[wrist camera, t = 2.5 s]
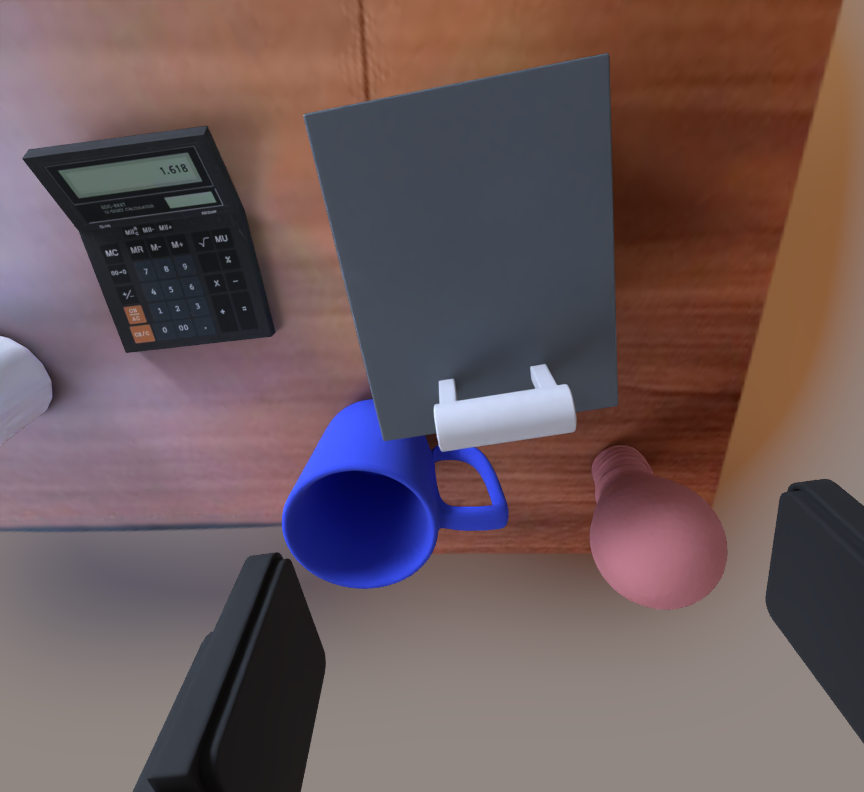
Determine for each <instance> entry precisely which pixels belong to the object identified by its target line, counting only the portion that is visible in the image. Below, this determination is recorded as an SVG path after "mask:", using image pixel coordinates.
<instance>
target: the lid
mask: <svg viewBox="0 0 864 792" xmlns="http://www.w3.org/2000/svg"><path fill="white" fill-rule="evenodd" d="M304 121H305V125H306V129H307V133H308V137H309V141H310V145H311V149H312V153H313V157H314V161H315V166H316V170H317V174H318V178H319V182H320V186H321V190H322V194H323V198H324V202H325V206H326V210H327V214H328V218H329V222H330V227H331V231H332V235H333V239H334V243H335V247H336V251H337V255H338V259H339V263H340V267H341V271H342V275H343V279H344V284H345V288H346V292H347V296H348V300H349V304H350V308H351V312H352V316H353V320H354V324H355V328H356V332H357V336H358V340H359V345H360V349H361V353H362V357H363V361H364V365H365V369H366V373H367V377H368V381H369V385H370V389H371V393H372V397H373V401H374V406H375V410H376V414H377V418H378V422H379V426H380V430H381V434H382V438H383V441H391V440H397V439H404V438H410V437H417V436H423V435H430V434H436V433H437V439H438V443H439V447H440V450H441V451H442V452H444V451H451V450H458V449H465V448H471V447H478V446H485V445H491V444H498V443H505V442H511V441H518V440H525V439H531V438H538V437H545V436H551V435H558V434H565V433H571V432H574V431H575V430H576V423H577V422H576V412H581V411H587V410H594V409H600V408H607V407H613V406H618V381H617V341H616V301H615V260H614V220H613V180H612V140H611V99H610V59H609V54H608V53H605V54H600V55H595V56H590V57H585V58H580V59H575V60H570V61H565V62H560V63H555V64H550V65H545V66H540V67H535V68H530V69H525V70H520V71H516V72H511V73H506V74H501V75H496V76H491V77H486V78H481V79H476V80H471V81H466V82H461V83H456V84H451V85H446V86H441V87H436V88H431V89H426V90H421V91H416V92H411V93H406V94H401V95H396V96H391V97H386V98H381V99H376V100H371V101H366V102H361V103H356V104H351V105H346V106H341V107H337V108H332V109H327V110H322V111H317V112H312V113H307V114H304Z"/></svg>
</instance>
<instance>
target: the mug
mask: <svg viewBox="0 0 864 792" xmlns="http://www.w3.org/2000/svg"><path fill="white" fill-rule="evenodd" d="M442 460H458V461H463V462H466V463H468V464H470V465H472V466H473V467H474V468H475V469H476V470H477V471H478V472H479V474H480V475H481V477H482V478H483V480H484V482H485V485H486V487H487V490H488V492H489V495H490V498H491V501H492V505H493V506H479V507H456V506H450V505H447V504H446V503H444V502H443V500H442V499H441V497H440V494H439V491H438V487H437V482H436V475H435V465H434V463H435V462H437V461H442ZM507 522H508V506H507V502H506V499H505V496H504V493H503V491H502V488H501V485H500V482H499V480H498V478H497V475H496V473H495V471H494V469H493V467H492V465H491V464H490V462H489V460H488V459H487V458H486V456H485V455H484V454H483V453H482V452H481V451H480V450H479V449H477V448H475V447H471V448H465V449H458V450H451V451H444V452H442V451H441V450H440V447H439V445H438V446H436V447H435V448H433V449H432V450H430V448H429V445H428V442H427V439H426V436H425V435H423V436H417V437H410V438H404V439H397V440H391V441H383V438H382V434H381V430H380V426H379V422H378V418H377V414H376V410H375V406H374V401H373V399H370V400H363V401H359V402H356V403H354V404H351V405H349V406H348V407H346V408H344V409H343V410H342V411H340V412H339V413H338V414H337V415H336V416H335V417H334V418H333V420H332V421H331V422H330V424H329V426H328V427H327V429H326V431H325V432H324V434H323V436H322V438H321V440H320V441H319V443H318V445H317V447H316V449H315V450H314V452H313V454H312V456H311V458H310V459H309V461H308V463H307V465H306V466H305V468H304V470H303V472H302V474H301V475H300V477H299V479H298V481H297V483H296V484H295V486H294V488H293V490H292V491H291V493H290V495H289V497H288V499H287V501H286V503H285V506H284V510H283V515H282V529H283V534H284V538H285V541H286V543H287V546H288V548H289V549H290V551H291V553H292V554H293V556H294V557H295V558H296V559H297V560H298V562H299V563H300V564H301V565H302V566H304V567H305V568H306V569H307V570H308V571H310V572H311V573H312V574H314V575H316V576H317V577H319V578H321V579H323V580H325V581H328V582H330V583H333V584H336V585H340V586H344V587H349V588H361V589H368V588H379V587H384V586H388V585H391V584H394V583H397V582H400V581H401V580H404V579H406V578H407V577H409V576H411V575H412V574H414V573H415V572H416V571H418V570H419V569H420V568H421V567H422V566H423V565H424V564H425V563H426V561H427V560H428V559H429V557H430V555H431V554H432V552H433V550H434V547H435V545H436V541H437V537H438V530H439V529H440V528H447V529H453V530H465V531H477V530H493V529H501V528H504V527H505V526H506V525H507Z"/></svg>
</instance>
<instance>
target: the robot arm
mask: <svg viewBox="0 0 864 792" xmlns="http://www.w3.org/2000/svg"><path fill="white" fill-rule="evenodd" d="M766 606H767V609H768V612H769V614H770V616H771V617H772V619H773V621H774V622H775V623H776V625H777V626H778V627H779V629H780V630H781V631H782V633H783V634H784V636H785V637H786V638H787V639H788V641H789V642H790V644H791V645H792V646H793V648H794V649H795V651H796V652H797V653H798V655H799V656H800V657H801V659H802V660H803V661H804V663H805V664H806V665H807V667H808V668H809V670H810V671H811V672H812V674H813V675H814V676H815V678H816V679H817V680H818V682H819V683H820V685H821V686H822V687H823V689H824V690H825V691H826V693H827V694H828V695H829V697H830V698H831V700H832V701H833V702H834V704H835V705H836V706H837V708H838V709H839V710H840V712H841V713H842V714H843V716H844V717H845V718H846V720H847V721H848V723H849V724H850V725H851V727H852V728H853V730H854V731H855V732H856V734H857V735H858V736H859V737H860V739H861V740H862V742H863V743H864V506H863V505H862V504H861V503H859V502H858V501H857V500H856V499H854V498H853V497H852V496H851V495H850V494H848V493H847V492H846V491H845V490H843V489H842V488H841V487H840V486H839V485H837V484H836V483H835V482H833V481H831V480H829V479H820V480H813V481H805V482H798V483H793V484H791V485H790V486H789V488H788V491H787V492H785V493H782V495H781V496H780V500H779V507H778V514H777V521H776V528H775V534H774V541H773V548H772V556H771V562H770V570H769V577H768V584H767V591H766ZM325 666H326V660H325V652H324V649H323V646H322V644H321V641H320V638H319V635H318V633H317V630H316V627H315V624H314V622H313V619H312V616H311V613H310V611H309V608H308V605H307V602H306V600H305V597H304V594H303V592H302V589H301V586H300V583H299V580H298V578H297V575H296V572H295V569H294V567H293V564H292V562H291V560H290V559H283V557H282V556H281V554H280V553H269V554H261V555H254V556H249V557H248V558H247V560H246V561H245V563H244V565H243V567H242V569H241V572H240V574H239V576H238V578H237V580H236V583H235V585H234V587H233V589H232V591H231V594H230V596H229V598H228V600H227V602H226V605H225V607H224V609H223V611H222V614H221V616H220V618H219V620H218V622H217V624H216V627H215V629H214V631H213V632H211V633H210V634H209V635H207V636H206V637H205V639H204V641H203V643H202V644H201V646H200V648H199V651H198V653H197V655H196V657H195V659H194V661H193V663H192V666H191V668H190V670H189V672H188V674H187V676H186V678H185V681H184V683H183V685H182V687H181V689H180V691H179V693H178V695H177V698H176V700H175V702H174V704H173V706H172V709H171V710H170V713H169V715H168V717H167V719H166V721H165V723H164V726H163V728H162V730H161V732H160V734H159V736H158V738H157V741H156V743H155V745H154V747H153V749H152V751H151V753H150V756H149V758H148V760H147V762H146V764H145V767H144V769H143V771H142V773H141V775H140V777H139V779H138V781H137V784H136V786H135V788H134V790H133V792H301V787H302V783H303V778H304V773H305V768H306V762H307V758H308V753H309V748H310V743H311V738H312V733H313V728H314V723H315V718H316V713H317V709H318V704H319V699H320V694H321V689H322V684H323V679H324V674H325Z"/></svg>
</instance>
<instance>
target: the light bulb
mask: <svg viewBox="0 0 864 792" xmlns="http://www.w3.org/2000/svg"><path fill="white" fill-rule="evenodd" d="M592 476H593V478H594V483H595V486H596V489H595V499H596V502H597V505H596V507H595V510H594V514H593V519H592V523H591V528H590V545H591V551H592V555H593V558H594V560H595V563H596V565H597V567H598V569H599V571H600V573H601V574H602V576H603V577H604V578H605V580H606V581H607V582H608V583H609V584H610V585H611V586H612V588H613V589H615V590H616V591H617V592H618V593H619V594H621V595H623V596H624V597H626V598H627V599H629V600H630V601H632V602H635V603H637V604H640V605H643V606H645V607H649V608H654V609H663V610H670V609H678V608H683V607H687V606H689V605H692V604H694V603H696V602H698V601H700V600H701V599H703V598H704V597H706V596H707V595H708V594H709V593H710V592H711V591H712V590H713V589H714V588H715V586H716V585H717V584H718V582H719V580H720V579H721V577H722V575H723V573H724V569H725V566H726V561H727V541H726V536H725V532H724V529H723V527H722V524H721V522H720V520H719V518H718V517H717V515H716V513H715V512H714V511H713V509H712V508H711V507H710V505H709V504H708V503H707V502H706V501H705V500H704V499H703V498H702V497H701V496H699V495H698V494H697V493H695V492H694V491H692V490H690V489H689V488H687V487H685V486H683V485H681V484H678V483H676V482H673V481H670V480H668V479H665V478H662V477H658V476H655V475H654V474H653V473H652V469H651V467H650V465H649V464H648V463H647V461H646V460H645V458H644V456H643V455H642V454H641V453H640V452H639V451H637V450H636V449H634V448H633V447H630V446H627V445H616V446H612V447H609V448H607V449H605V450H603V451H602V452H601V453H600V454H599V455H598V456H597V457H596V458H595V460H594V462H593V464H592Z"/></svg>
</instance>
